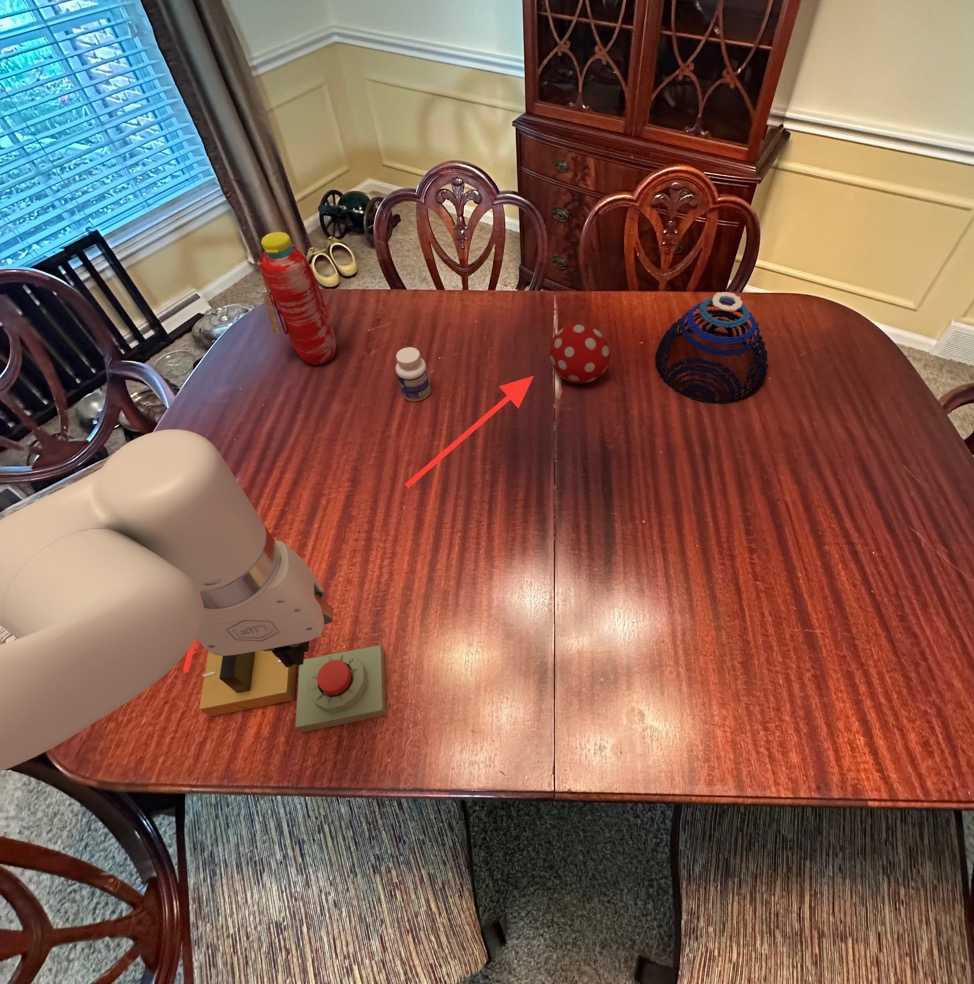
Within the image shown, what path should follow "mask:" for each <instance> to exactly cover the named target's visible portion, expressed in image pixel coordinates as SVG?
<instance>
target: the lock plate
mask: <svg viewBox="0 0 974 984" xmlns="http://www.w3.org/2000/svg"><path fill="white" fill-rule="evenodd" d="M207 651H208V650H207ZM206 657H207V658H206V664H205V670H204V673H202V678H203V682H202V688H201V695H200V700H199V705H198V710H199V711H201V712H202V713H204V714H205V715H206V716H207V717H211V718H212V717H216V716H220V715H221V716H222V715H226V714H231V713H237V712H241V711H245V710H246V711H247V710H251V709H256V708H261V707H265V706H271V705H272V706H273V705H276V704H281V703H286V702H291V701H295V700H296V699H295V697H296V683H297V682H296V681H297V670H298V669H297V668H298V665H296V664H294V665H292V667H287V668H286V667H285V665H284V664H283V663H282V662H281V661H280V660H279V658H278V657H276V656H275V655H274V654H273V653H272V651H267V652H266V651H262V650H260V651H255V656H254V664H253V672H252V680H251V688H250V691H245V692H239V693H236V692H235V691H234V690H233V689H231V688H230V687H229V686H228V685H227V684H225V683H224V682H223V681H222V680H221V679H219V677H220V671H221V664H222V658H223V656H219V655H215V654H213V653H211V652H209V651H208V652H207V656H206Z"/></svg>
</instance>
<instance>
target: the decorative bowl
mask: <svg viewBox="0 0 974 984" xmlns="http://www.w3.org/2000/svg"><path fill="white" fill-rule="evenodd" d="M712 307H713V308H714V309H708V308H712ZM716 308H717V309H716ZM697 310H698V311H699V312H696V311H697ZM694 312H696V313H694ZM734 312H735V313H739V314H740V315H738V314H735V313H734ZM725 318H726V319H725ZM748 321H749V322H751V323H749V322H748ZM697 322H698V323H697ZM704 322H705V323H704ZM701 324H702V326H700V325H701ZM759 325H760V324H759V322H758V321H756V318H755V316H754V315H753V313H752V312H750V311H749V309H748V307H747V306H746V304H744V303H743V300H742V299H741V296H738V295H737V294H736V293H734V292H728V291H725V292H724V291H722V292H720V291H719V292H718V291H717V292H716V293H715V294H713V296H711V297H707V298H705V300H704V301H702V302H700V303H696V304H695V305H694V306H692V308H689V310H687V311H686V312H685V313H684V314H682V315H681V317H680V318H678V319H677V321H674V322H673V323H671V325H670V326H669V329H666V330H665V333H664V334H663V336H662V337H661V339H660V341H659V344H658V345H657V349H656V353H655V354H654V356H655V357H654V360H655V362H654V367H655V368H656V371H657V373H658V374H659V375H660V376H659V378H660V379H662V382H663V383H665V384H666V385H667V386H668V387H669V388H670V389H672V390H673V391H674V392H676V393H680V395H683V396H684V397H686V398H689V400H693V401H697V402H701V403H704V404H706V403H708V404H720V405H723V404H733V403H735V402H737V403H738V402H740V401H744V400H745V399H746V398H747V399H748V398H750V397H751V396H754V394H756V392H758V390H760V389H761V388H762V386H763V384H764V381H765V378H766V375H767V373H768V368H769V363H767V362H768V349H767V348H766V343H765V341H764V340H763V339H764V337H763V336H762V335H761V334H760V333H761V329H760V327H759ZM708 326H709V327H708ZM707 327H708V329H707ZM738 327H739V328H738ZM719 328H721V329H722V328H723V329H724V330H725V331H726V332H723V331H719V330H718V329H719ZM733 329H734V330H733ZM690 333H693V335H696V336H697V337H698V338H701V339H702V340H705V341H706V342H709V343H714V344H717V345H726V346H728V345H729V346H731V345H737V344H739V345H740V344H743V345H744V346H740V347H734V348H722V349H721V348H717V347H714V346H708V345H705V344H704V343H702V342H701V341H698V340H697V339H695V338H694V337H693V336H692V335H690ZM714 333H715V334H720V336H718V335H714ZM734 334H736V335H734ZM721 335H722V336H721ZM723 335H724V336H723ZM679 336H681V337H682V338H683V339H684V340H685V341H686V342H687V343H688V344H689V345H691V347H694V349H698V351H702V352H703V353H705V354H710V355H713V356H718V357H720V356H722V357H724V356H725V357H726V356H727V357H733V356H739V355H742V354H746V353H747V352H750V350H751V351H752V352H753V354H752V357H751V359H752V361H750V363H749V367H748V370H747V373H746V376H745V380H744V382H743V384H742V383H741V380H740V379H739V378H738V376H737V375H736V373H735V372H734V370H731V368H730V367H729V366H725V364H722V362H719V361H717V362H715V361H711V360H708V359H703V358H702V357H699V356H696V357H695V356H690V357H689V356H687V357H686V358H683V359H680V360H678V361H677V362H676V361H675V362H673V363H671V364H670V366H668V362H669V359H670V356H671V354H670V353H672V350H673V348H672V347H673V346H674V343H675V340H676V338H677V337H679ZM752 339H753V340H752ZM747 341H748V343H747ZM716 367H717V368H716ZM720 371H721V372H720ZM689 372H690V373H689ZM698 372H701V373H698ZM709 375H712V376H709ZM692 376H698V377H699V378H695V377H692ZM687 377H692V378H687ZM682 378H683V380H682ZM685 378H686V379H685ZM680 380H681V381H680ZM707 380H712V381H713V382H711V381H707ZM673 381H674V382H673ZM720 381H721V382H720ZM672 382H673V384H672ZM678 382H679V384H677V383H678ZM696 382H698V383H696ZM688 383H689V384H688ZM691 383H692V384H691ZM700 383H703V384H700ZM714 383H715V384H714ZM676 384H677V386H676ZM704 384H706V385H704ZM716 384H718V385H719V386H720V388H721V389H720V388H719V386H717V385H716ZM683 385H684V386H683ZM724 385H725V386H726V387H725V386H724ZM709 386H710V387H709ZM681 387H683V388H682V390H680V388H681ZM712 388H713V389H712ZM714 390H715V391H714ZM722 391H723V393H724V395H722ZM715 392H716V393H717V394H718V398H719V399H718V400H717V396H716V393H715ZM695 394H701V395H702V397H703V398H701V397H696V396H694V395H695ZM728 394H730V395H728ZM747 399H746V400H747Z"/></svg>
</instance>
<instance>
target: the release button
mask: <svg viewBox="0 0 974 984" xmlns="http://www.w3.org/2000/svg"><path fill="white" fill-rule="evenodd" d="M351 681H352V674H351V671H350V670H349V668H348V667H347V665H346V664H345V663H344V662H342V661H340V660H333V661H330V662H327V663H326V664H325V665H323V666H322V668H321V669H320V670H319V672H318V676H317V682H318V685H319V687H320V688H321V689H322V690H323V691H324V692H325V693H326V694H327V695H330V696H336V695H339V694H342V693H343V692H345V691H346V690H347V689H348V687H349V686H350V684H351Z"/></svg>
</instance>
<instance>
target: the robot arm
mask: <svg viewBox="0 0 974 984" xmlns="http://www.w3.org/2000/svg"><path fill="white" fill-rule="evenodd" d="M325 594H326V593H325V589H324V587H323V586H322V584H321V582H320V580H319V579H318V577H317V576H316V574H315V573H314V571H312V569H311V567H309V566H308V564H307V563H306V562H305V561H304V560H303V559H302V558H301V557H300V555H298V553H296V551H294V550H293V549H292V548H291V547H290V546H289V545H288V544H286V543H284V542H283V541H281V540H275V539H274V538H273V536H272V534H271V533H270V531H269V529H268V528H267V526H266V525H265V523H264V522H263V520H262V518H261V517H260V516H259V514H258V512H257V510H256V509H255V507H254V505H253V504H252V503H251V501H250V499H249V498H248V496H247V494H246V493H245V491H244V490H243V487H242V486H241V484H240V483H239V482H238V480H237V478H236V477H235V475H234V473H233V471H231V469H230V467H229V466H228V463H227V462H226V461H225V459H224V457H223V455H222V454H221V453H220V451H219V450H218V449H217V447H216V446H215V444H214V443H212V442H211V441H210V440H209V439H208V438H206V437H204V436H202V435H201V434H198V433H197V432H194V431H189V430H186V429H178V428H175V429H174V428H173V429H172V428H171V429H170V428H169V429H163V430H156V431H153V432H149V433H145V434H144V435H140V436H139V437H136V438H134V439H133V440H131V441H129V442H127V443H125V444H124V445H122V446H121V447H119V449H117V450H116V451H115V452H114V453H112V455H111V456H110V457H109V458H108V459H107V460H106V461H105V463H104V464H103V465H102V467H100V468H99V469H97V470H95V471H94V472H92V473H90V474H88V475H86V476H84V477H82V478H81V479H79V480H77V481H75V482H73V483H70V484H68V485H66V486H65V487H63V488H61V489H59V490H56V491H54V492H52V493H51V494H48V495H46V496H44V497H42V498H39V499H38V500H36V501H34V502H31V503H30V504H28V505H26V506H23V507H22V508H19V509H18V510H16V511H14V512H12V513H11V514H9V515H6V516H5V517H3V518H1V519H0V627H2V628H3V629H5V630H6V631H7V632H8V633H10V634H11V635H12V636H13V637H14V638H16V639H14V640H10V641H8V642H4V643H1V644H0V772H2V771H5V770H8V769H11V768H14V767H15V766H19V765H20V764H22V763H24V762H27V761H29V760H31V759H33V758H34V759H35V758H36V757H38V756H39V755H42V754H43V753H45V752H47V751H49V750H51V749H53V748H55V747H58V746H59V745H60V744H62V743H63V742H65V741H67V740H69V739H70V738H73V737H74V736H75V735H77V734H79V733H80V732H82V731H84V730H85V729H88V727H90V726H92V725H94V724H95V723H97V722H99V721H100V720H102V719H103V718H105V717H106V716H108V715H109V714H112V712H115V711H116V710H118V709H119V708H121V707H122V706H123V705H125V704H127V703H129V702H130V701H132V700H134V699H135V698H136V697H138V696H139V695H141V694H142V693H143V692H145V691H146V690H147V689H149V688H150V687H152V686H153V685H155V684H156V683H158V681H159V680H161V679H162V678H163V677H164V676H166V675H167V674H168V673H169V672H170V671H171V670H172V669H174V667H175V666H176V665H177V664H179V662H180V661H181V660H182V659H183V658H184V657H185V655H186V654H187V653H188V651H190V649H191V648H192V647H193V645H194V643H195V641H196V640H197V641H198V642H199V643H200V644H201V645H202V646H203V648H204V649H205V650H207V651H209V652H211V653H213V654H215V655H219V656H228V655H236V654H242V653H248V652H254V651H260V650H262V651H266V652H267V651H272V653H273V654H274V655H275V656H276V657H278V658H279V660H280V661H281V662H282V663H283V664H284V665H285V667H286V668H287V667H292V665H294V664H296V665H297V666H299V665H303V662H304V659H305V653H308V652H309V650H310V641H313V640H314V639H316V638H318V637H319V636H321V635H322V634H323V632H324V626H325V625H328V624H331V623H333V622H334V607H332V606H331V605H330V604H329V603H327V602H326V601H325V600H324V599H322V598H323V597H324V596H325Z"/></svg>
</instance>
